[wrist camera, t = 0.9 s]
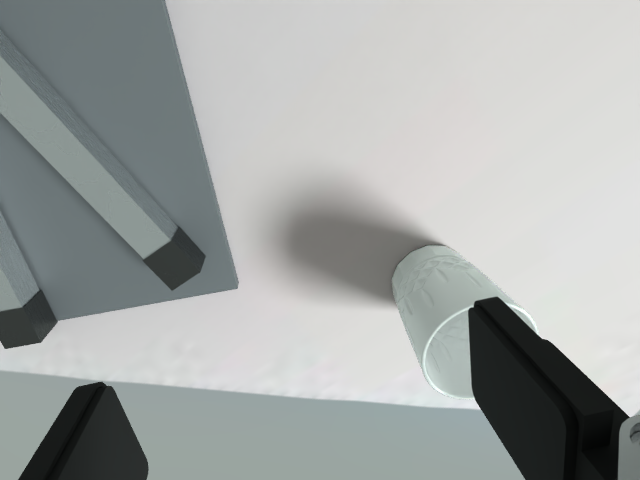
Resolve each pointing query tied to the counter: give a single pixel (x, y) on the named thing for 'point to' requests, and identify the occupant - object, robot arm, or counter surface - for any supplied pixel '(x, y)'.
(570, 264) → the counter surface
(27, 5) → the slate board
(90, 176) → the moving tong arm
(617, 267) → the counter surface
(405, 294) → the white cup
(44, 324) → the bar
